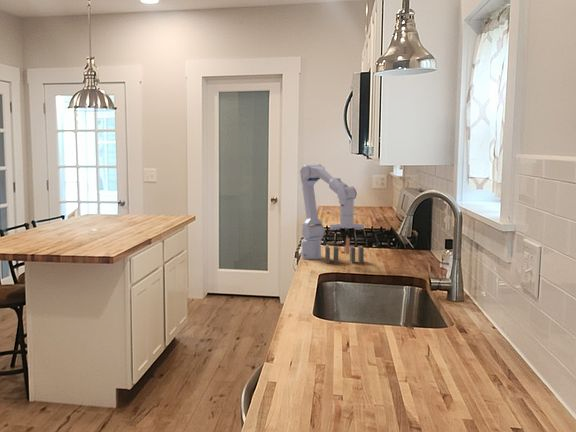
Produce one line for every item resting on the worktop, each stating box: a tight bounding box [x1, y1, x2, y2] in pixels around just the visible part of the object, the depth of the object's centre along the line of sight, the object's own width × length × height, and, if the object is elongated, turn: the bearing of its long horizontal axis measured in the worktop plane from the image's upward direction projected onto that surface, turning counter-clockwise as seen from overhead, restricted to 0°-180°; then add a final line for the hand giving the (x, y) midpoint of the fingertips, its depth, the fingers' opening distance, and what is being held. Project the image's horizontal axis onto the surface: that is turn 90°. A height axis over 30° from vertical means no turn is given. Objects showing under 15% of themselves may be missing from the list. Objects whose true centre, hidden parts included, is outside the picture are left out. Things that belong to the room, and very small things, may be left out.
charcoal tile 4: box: [333, 245, 339, 265], centre depth 225 cm, size 2×5×7 cm, turn 2°
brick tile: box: [343, 235, 351, 255], centre depth 217 cm, size 2×5×7 cm, turn 4°
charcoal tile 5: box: [324, 245, 331, 265], centre depth 225 cm, size 2×5×7 cm, turn 2°
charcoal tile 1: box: [357, 245, 365, 264], centre depth 225 cm, size 2×5×7 cm, turn 2°
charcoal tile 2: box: [349, 245, 356, 264], centre depth 225 cm, size 2×5×7 cm, turn 2°
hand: (346, 245), depth 217 cm, fingers closed on brick tile, 1 cm apart
